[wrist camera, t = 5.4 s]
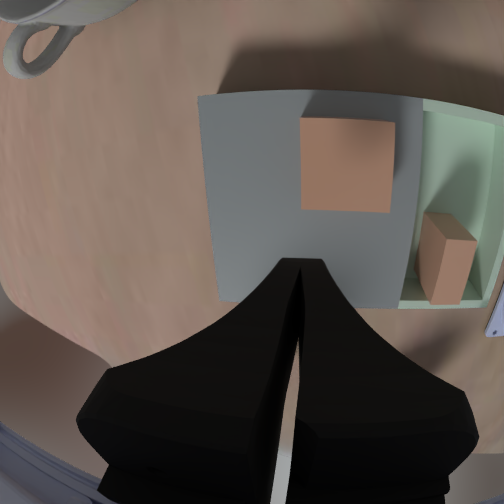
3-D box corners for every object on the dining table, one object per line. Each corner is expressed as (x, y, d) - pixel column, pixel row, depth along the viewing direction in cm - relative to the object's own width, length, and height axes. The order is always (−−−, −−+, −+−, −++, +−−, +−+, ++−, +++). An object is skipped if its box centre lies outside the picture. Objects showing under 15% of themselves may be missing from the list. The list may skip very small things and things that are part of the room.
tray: (499, 116, 13) (524, 122, 10) (470, 283, 18) (486, 307, 16) (406, 98, 14) (423, 98, 12) (389, 282, 20) (397, 308, 17)
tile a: (423, 211, 17) (450, 213, 16) (413, 269, 19) (439, 269, 18) (446, 239, 13) (477, 241, 13) (430, 305, 15) (459, 304, 15)
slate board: (406, 98, 14) (423, 98, 12) (389, 282, 20) (397, 308, 17) (215, 96, 16) (197, 96, 14) (231, 275, 22) (219, 300, 19)
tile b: (384, 119, 13) (395, 122, 11) (381, 199, 14) (389, 212, 13) (301, 116, 13) (299, 117, 12) (302, 196, 15) (301, 209, 14)
